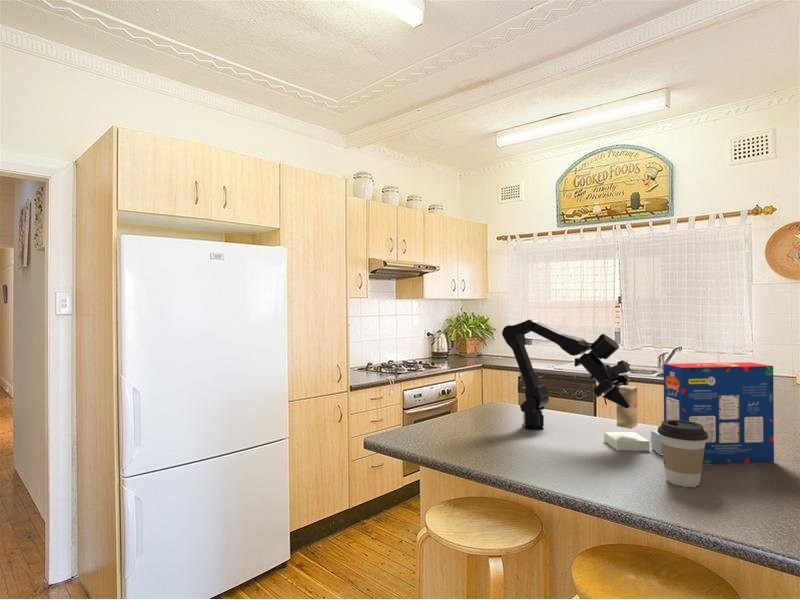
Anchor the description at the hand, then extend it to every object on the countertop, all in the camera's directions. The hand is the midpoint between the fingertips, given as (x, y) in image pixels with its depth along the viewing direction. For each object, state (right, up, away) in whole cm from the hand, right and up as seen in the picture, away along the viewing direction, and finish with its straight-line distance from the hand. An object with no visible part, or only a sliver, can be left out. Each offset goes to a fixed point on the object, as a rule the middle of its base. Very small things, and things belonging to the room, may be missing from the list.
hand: (631, 406), depth 149 cm
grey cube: (+8, -13, -5) cm, 16 cm away
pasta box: (+20, -13, -12) cm, 26 cm away
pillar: (-1, -7, +1) cm, 7 cm away
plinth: (-1, -14, +1) cm, 14 cm away
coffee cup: (-1, -13, -29) cm, 32 cm away
